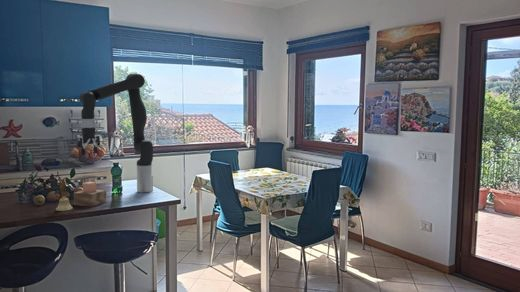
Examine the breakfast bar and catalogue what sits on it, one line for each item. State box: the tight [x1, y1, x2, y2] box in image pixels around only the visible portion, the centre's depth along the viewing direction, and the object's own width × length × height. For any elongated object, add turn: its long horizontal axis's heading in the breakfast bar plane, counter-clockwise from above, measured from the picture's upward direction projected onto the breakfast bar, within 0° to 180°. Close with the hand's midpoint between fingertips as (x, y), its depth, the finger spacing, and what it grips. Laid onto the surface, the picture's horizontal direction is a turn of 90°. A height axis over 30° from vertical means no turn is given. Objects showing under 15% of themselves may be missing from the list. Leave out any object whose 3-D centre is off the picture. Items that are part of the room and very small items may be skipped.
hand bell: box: [55, 178, 74, 212], centre depth 220 cm, size 8×8×16 cm
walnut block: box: [73, 188, 107, 208], centre depth 234 cm, size 12×12×7 cm
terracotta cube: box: [82, 181, 97, 193], centre depth 234 cm, size 5×5×5 cm
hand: (89, 154), depth 243 cm, fingers open, 8 cm apart
